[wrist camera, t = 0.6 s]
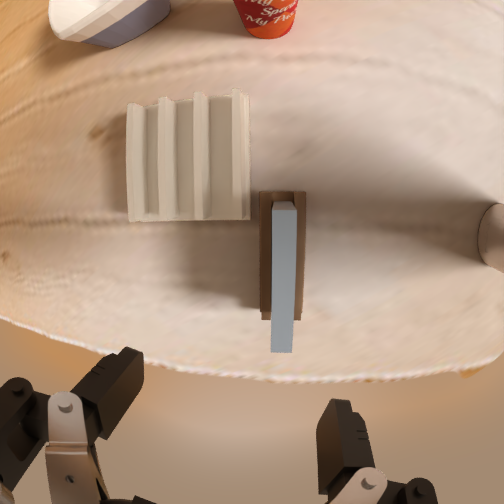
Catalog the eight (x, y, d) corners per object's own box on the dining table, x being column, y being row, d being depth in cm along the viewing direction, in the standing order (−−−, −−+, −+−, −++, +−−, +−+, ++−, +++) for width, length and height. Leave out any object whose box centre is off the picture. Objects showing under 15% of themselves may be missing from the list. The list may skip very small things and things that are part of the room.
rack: (249, 96, 28) (244, 83, 23) (251, 218, 31) (246, 224, 27) (143, 109, 29) (124, 100, 25) (145, 220, 33) (126, 226, 28)
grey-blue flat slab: (291, 201, 30) (296, 210, 20) (288, 304, 33) (291, 352, 23) (274, 201, 30) (271, 210, 20) (273, 304, 33) (270, 352, 23)
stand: (305, 191, 30) (307, 192, 27) (301, 309, 34) (303, 320, 31) (259, 191, 31) (257, 192, 28) (260, 309, 34) (258, 319, 31)
